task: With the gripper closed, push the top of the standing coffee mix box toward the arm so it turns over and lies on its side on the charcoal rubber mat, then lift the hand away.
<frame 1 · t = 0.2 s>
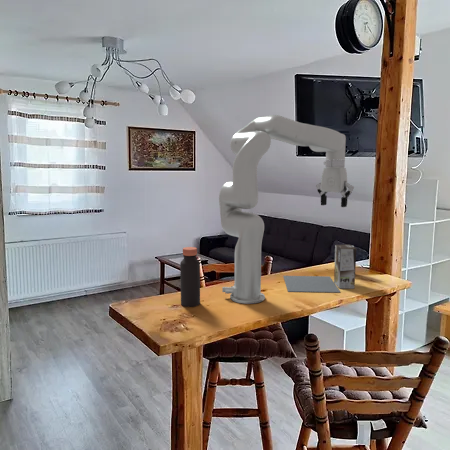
hand: (333, 206, 176), 31 cm above the bar counter, tool pointing down, fingers open, 9 cm apart
black water bottle: (190, 304, 149), on the bar counter
mat: (310, 284, 173), on the bar counter
supplement bottle: (346, 274, 188), on the bar counter
coffee box: (344, 285, 171), on the bar counter
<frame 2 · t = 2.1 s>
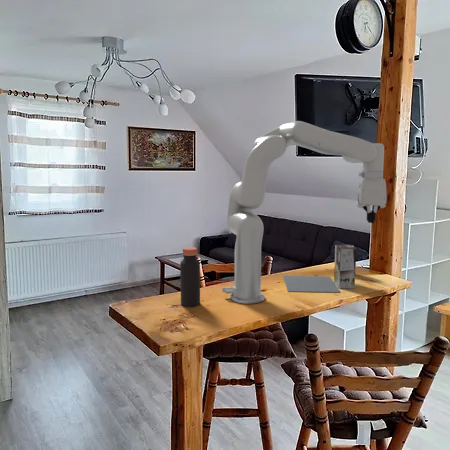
hand: (370, 222, 167), 26 cm above the bar counter, tool pointing down, fingers closed
nothing on the bar counter moved.
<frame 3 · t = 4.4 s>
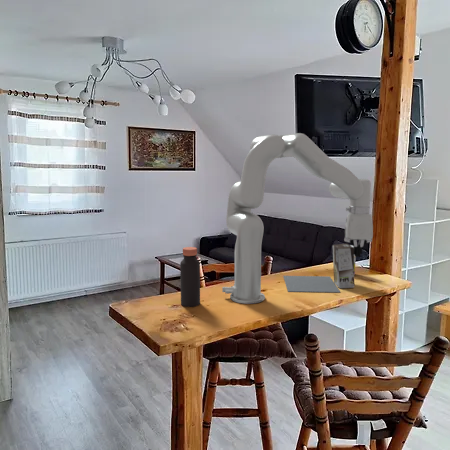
hand: (357, 256, 169), 12 cm above the bar counter, tool pointing down, fingers closed
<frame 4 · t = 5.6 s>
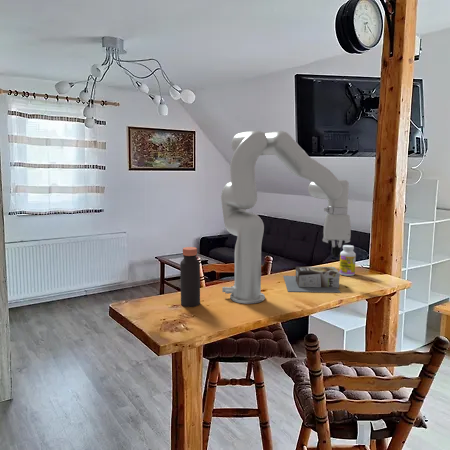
hand: (335, 256, 170), 12 cm above the bar counter, tool pointing down, fingers closed
coffee box: (337, 276, 171), point 3 cm above the bar counter, touching mat
everything else where it was.
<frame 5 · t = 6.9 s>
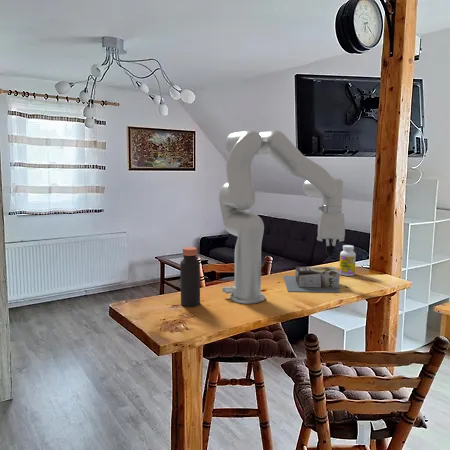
hand: (329, 255, 170), 12 cm above the bar counter, tool pointing down, fingers closed
nothing on the bar counter moved.
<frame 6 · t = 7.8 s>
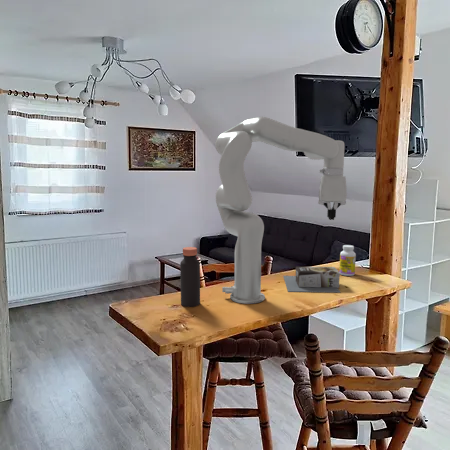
hand: (331, 219, 168), 27 cm above the bar counter, tool pointing down, fingers closed
nothing on the bar counter moved.
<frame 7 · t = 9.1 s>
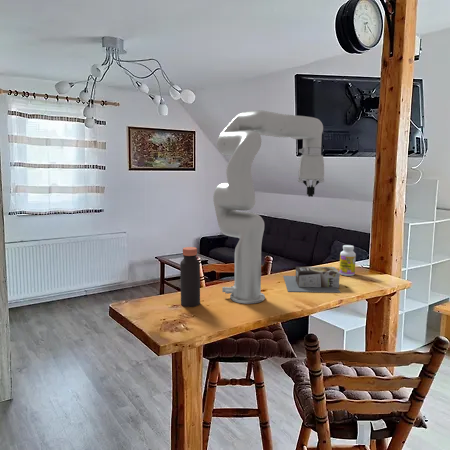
hand: (310, 196, 178), 35 cm above the bar counter, tool pointing down, fingers closed
nothing on the bar counter moved.
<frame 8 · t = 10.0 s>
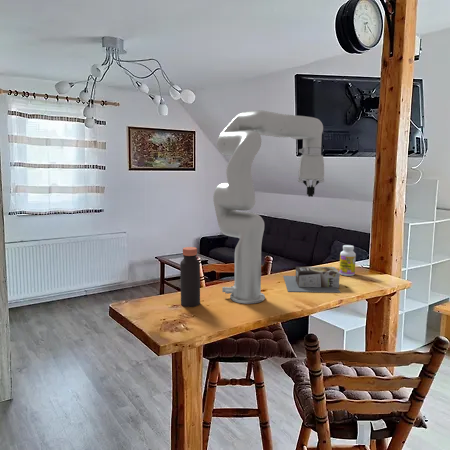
hand: (310, 196, 178), 35 cm above the bar counter, tool pointing down, fingers closed
nothing on the bar counter moved.
at the end: coffee box tilted 90°; coffee box inside the target area (0.2 cm from its centre), point 3.5 cm above the bar counter; coffee box touching mat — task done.
